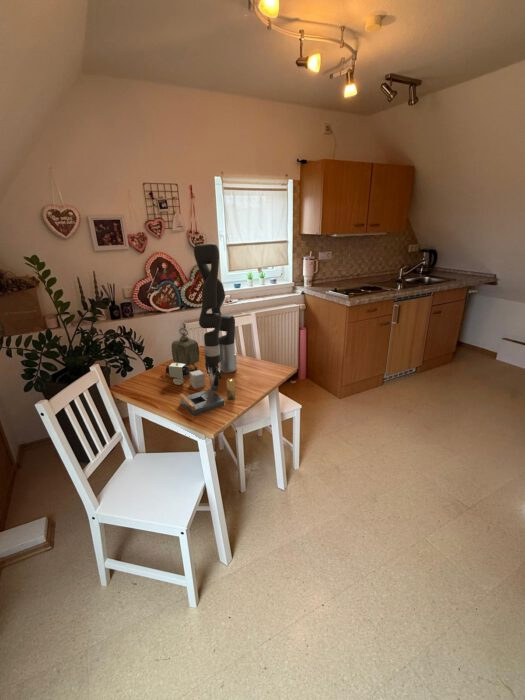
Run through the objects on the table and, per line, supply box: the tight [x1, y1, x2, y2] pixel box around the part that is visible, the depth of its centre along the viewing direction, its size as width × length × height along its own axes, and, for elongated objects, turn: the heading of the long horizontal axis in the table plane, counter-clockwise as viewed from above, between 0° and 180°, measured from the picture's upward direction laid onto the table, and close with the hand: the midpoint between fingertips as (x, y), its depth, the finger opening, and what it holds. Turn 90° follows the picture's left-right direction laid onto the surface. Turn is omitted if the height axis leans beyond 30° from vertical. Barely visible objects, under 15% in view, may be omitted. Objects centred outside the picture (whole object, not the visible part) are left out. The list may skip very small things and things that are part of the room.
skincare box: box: [189, 369, 206, 389], centre depth 170 cm, size 6×6×7 cm
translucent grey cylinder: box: [209, 371, 219, 393], centre depth 164 cm, size 4×4×10 cm
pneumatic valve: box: [165, 362, 191, 386], centre depth 172 cm, size 6×12×12 cm, turn 78°
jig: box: [179, 388, 225, 417], centre depth 152 cm, size 16×14×5 cm
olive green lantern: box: [171, 327, 200, 370], centre depth 188 cm, size 14×9×25 cm, turn 54°
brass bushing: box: [225, 378, 236, 402], centre depth 156 cm, size 4×4×10 cm
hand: (214, 384), depth 164 cm, fingers closed on translucent grey cylinder, 4 cm apart
